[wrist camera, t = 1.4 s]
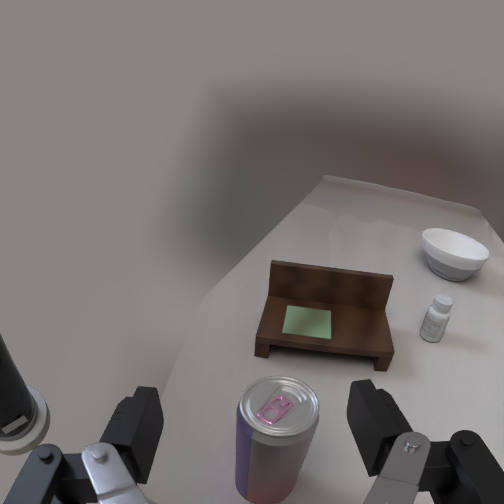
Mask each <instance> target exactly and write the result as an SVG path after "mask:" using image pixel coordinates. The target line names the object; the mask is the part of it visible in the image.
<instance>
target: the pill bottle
mask: <svg viewBox="0 0 504 504" xmlns="http://www.w3.org/2000/svg"><path fill="white" fill-rule="evenodd" d="M452 304H453V301H452V299H451V298H450V297H448V296H446V295H443V294H438V295H436V296H435V299H434V302H433V305H431V306H430V307H429V308H428V310H427V313H426V316H425V319H424V321H423V324H422V327H421V329H420V335H421V336H422V338H424V339H425V340H427V341H429V342H437V341H439V340H440V339H441V337H442V335H443V332H444V330H445V328H446V325H447V323H448V321H449V318H450V309H451V307H452Z"/></svg>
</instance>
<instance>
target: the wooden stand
mask: <svg viewBox="0 0 504 504" xmlns="http://www.w3.org/2000/svg"><path fill="white" fill-rule="evenodd" d="M393 280H394V278H393V276H392V275H385V274H378V273H370V272H362V271H354V270H346V269H338V268H330V267H322V266H315V265H307V264H299V263H291V262H284V261H276V260H272V261H271V267H270V279H269V291H268V297H267V301H266V304H265V307H264V311H263V314H262V317H261V321H260V324H259V327H258V330H257V334H256V342H255V355H254V356H257V357H263V358H268V355H269V351H270V347H271V344H272V345H279V346H286V347H293V348H300V349H308V350H315V351H324V352H332V353H341V354H351V355H361V356H373V363H374V371H387V369H388V367H389V365H390V362H391V360H392V357H393V355H394V347H393V343H392V338H391V334H390V329H389V325H388V321H387V317H386V313H385V307H386V304H387V301H388V297H389V294H390V290H391V287H392V283H393Z"/></svg>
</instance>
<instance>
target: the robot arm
mask: <svg viewBox="0 0 504 504" xmlns="http://www.w3.org/2000/svg"><path fill="white" fill-rule="evenodd" d="M37 417H38V406H37V403H36V401H35V399H34V397H33V396H32V394H31V393H30V392H29V390H28V388H27V386H26V385H25V383H24V381H23V379H22V377H21V375H20V373H19V371H18V370H17V367H16V366H15V364H14V362H13V360H12V358H11V356H10V354H9V352H8V350H7V347H6V345H5V343H4V341H3V338H2V336H1V334H0V441H5V442H10V441H15V440H18V439H20V438H22V437H24V436H25V435H27V434H28V433H29V432H30V431H31V429H32V428H33V427H34V425H35V423H36V421H37ZM347 420H348V424H349V426H350V429H351V431H352V434H353V436H354V439H355V441H356V444H357V446H358V449H359V452H360V454H361V457H362V459H363V462H364V465H365V467H366V470H367V472H368V475H369V477H372V476H376V475H378V477H377V479H376V480H375V482H374V484H373V486H372V488H371V490H370V492H369V494H368V496H367V497H366V499H365V501H364V503H363V504H413V503H414V500H415V497H416V495H417V492H423V491H429V492H430V494H431V497H432V499H433V501H434V504H504V472H503V470H502V468H501V467H500V465H499V464H498V462H497V461H496V459H495V458H494V456H493V455H492V453H491V452H490V450H489V449H488V447H487V446H486V445H485V443H484V442H483V440H482V439H481V437H480V436H479V435H478V434H476V433H475V432H473V431H469V430H461V431H458V432H456V433H454V434H453V435H452V437H451V439H450V441H440V442H431V441H429V439H428V438H427V437H426V436H425V435H423V434H421V433H418V432H413V430H412V428H411V427H410V425H409V423H408V422H407V420H406V418H405V417H404V415H403V414H402V412H401V410H399V407H398V406H397V404H396V402H395V401H394V399H393V397H392V396H391V395H390V394H389V393H388V392H386V391H385V390H383V389H377V390H376V388H375V386H374V384H373V383H372V381H371V380H370V379H367V380H360V381H353V382H352V383H351V387H350V394H349V400H348V405H347ZM163 424H164V418H163V412H162V408H161V404H160V399H159V395H158V391H157V389H156V388H155V387H141V386H139V387H138V388H137V389H136V391H135V393H134V396H133V397H126V398H125V399H123V400H122V401H121V402H120V403H119V404H118V405H117V408H116V409H115V412H114V413H113V415H112V417H111V420H110V421H109V423H108V425H107V427H106V429H105V431H104V433H103V435H102V437H101V439H100V441H99V443H94V444H91V445H89V446H88V447H87V448H85V449H84V451H83V453H79V454H63V453H62V452H61V450H60V448H59V447H57V446H56V445H53V444H42V445H39V446H37V447H36V448H34V449H33V451H32V452H31V454H30V455H29V457H28V459H27V461H26V462H25V464H24V467H23V468H22V470H21V471H20V473H19V475H18V477H17V479H16V480H15V482H14V484H13V486H12V488H11V490H10V492H9V493H8V495H7V497H6V499H5V501H4V503H3V504H86V503H99V504H149V502H148V501H147V499H146V497H145V496H144V494H143V493H142V491H141V490H140V488H139V486H138V485H137V483H141V484H147V480H148V477H149V473H150V470H151V467H152V463H153V460H154V456H155V453H156V450H157V446H158V443H159V439H160V436H161V433H162V430H163Z"/></svg>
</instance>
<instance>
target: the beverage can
mask: <svg viewBox="0 0 504 504" xmlns="http://www.w3.org/2000/svg"><path fill="white" fill-rule="evenodd" d="M318 422H319V401H318V399H317V396H316V395H315V393H314V392H313V390H312V389H311V388H310V387H308V386H307V385H306V384H304V383H303V382H301V381H299V380H296V379H294V378H290V377H285V376H270V377H265V378H262V379H259V380H257V381H255V382H253V383H252V384H250V385H249V386H248V387H247V388H246V389H245V390H244V392H243V394H242V396H241V399H240V402H239V404H238V407H237V424H236V478H235V482H236V487H237V490H238V491H239V493H240V494H241V495H242V496H243V497H244V498H245V499H246V500H248V501H250V502H252V503H255V504H275V503H278V502H280V501H282V500H283V499H285V498H286V497H287V496H288V495H289V494H290V492H291V490H292V488H293V486H294V484H295V481H296V479H297V476H298V474H299V472H300V469H301V467H302V464H303V462H304V459H305V457H306V454H307V452H308V449H309V446H310V444H311V441H312V439H313V436H314V433H315V430H316V428H317V425H318Z"/></svg>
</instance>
